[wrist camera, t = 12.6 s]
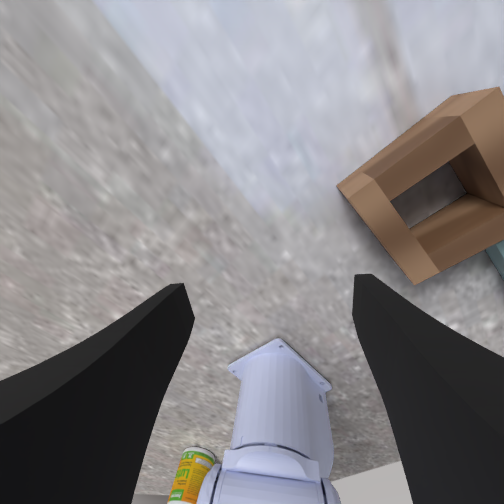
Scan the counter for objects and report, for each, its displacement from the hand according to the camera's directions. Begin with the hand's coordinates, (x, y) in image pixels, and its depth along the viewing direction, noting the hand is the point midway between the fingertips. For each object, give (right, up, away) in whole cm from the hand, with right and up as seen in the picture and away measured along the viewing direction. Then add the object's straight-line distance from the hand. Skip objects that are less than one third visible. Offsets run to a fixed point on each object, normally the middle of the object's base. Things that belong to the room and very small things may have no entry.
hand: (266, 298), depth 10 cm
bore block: (+11, +6, +7) cm, 14 cm away
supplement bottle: (-9, -31, +29) cm, 44 cm away
